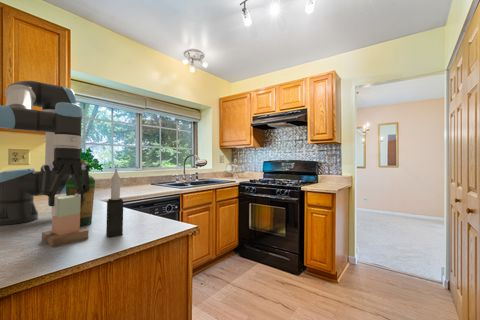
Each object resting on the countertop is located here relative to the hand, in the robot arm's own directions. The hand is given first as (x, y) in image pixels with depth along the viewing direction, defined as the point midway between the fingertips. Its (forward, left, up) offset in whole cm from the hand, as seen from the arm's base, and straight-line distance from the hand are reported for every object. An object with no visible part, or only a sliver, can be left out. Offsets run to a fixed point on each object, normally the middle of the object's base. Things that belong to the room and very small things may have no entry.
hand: (66, 213), depth 78 cm
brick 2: (0, 0, -6) cm, 6 cm away
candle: (+8, +13, -9) cm, 18 cm away
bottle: (-17, +12, -9) cm, 23 cm away
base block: (0, 0, -9) cm, 9 cm away
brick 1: (0, 0, 0) cm, 0 cm away
